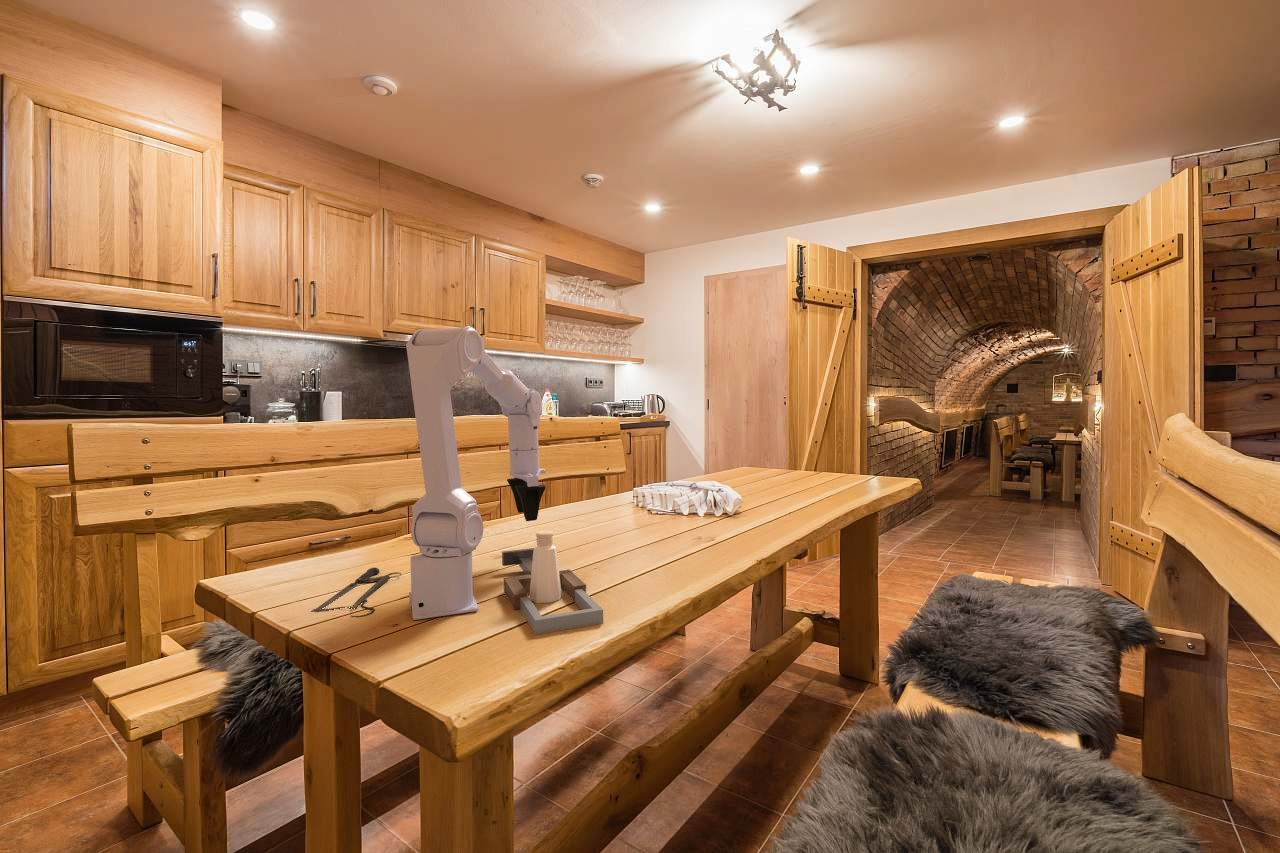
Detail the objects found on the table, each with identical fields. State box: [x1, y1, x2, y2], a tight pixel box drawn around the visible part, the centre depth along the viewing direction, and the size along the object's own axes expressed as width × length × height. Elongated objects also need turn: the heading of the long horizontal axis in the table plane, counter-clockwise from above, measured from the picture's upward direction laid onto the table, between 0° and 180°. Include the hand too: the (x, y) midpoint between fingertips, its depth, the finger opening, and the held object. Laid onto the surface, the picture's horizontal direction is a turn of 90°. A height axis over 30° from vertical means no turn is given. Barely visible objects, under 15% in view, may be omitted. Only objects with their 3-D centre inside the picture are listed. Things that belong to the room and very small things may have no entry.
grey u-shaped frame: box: [519, 589, 604, 635], centre depth 86 cm, size 10×10×2 cm
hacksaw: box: [310, 567, 402, 618], centre depth 99 cm, size 24×10×2 cm, turn 2°
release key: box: [501, 547, 535, 575], centre depth 105 cm, size 8×14×3 cm, turn 23°
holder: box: [503, 569, 587, 611], centre depth 95 cm, size 12×10×2 cm
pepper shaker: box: [528, 530, 563, 604], centre depth 94 cm, size 5×5×11 cm
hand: (527, 516), depth 115 cm, fingers open, 7 cm apart
